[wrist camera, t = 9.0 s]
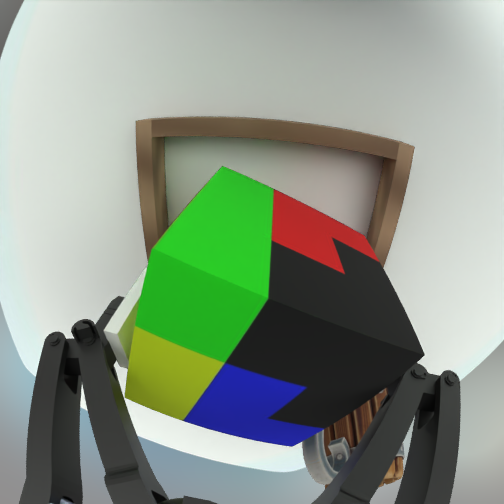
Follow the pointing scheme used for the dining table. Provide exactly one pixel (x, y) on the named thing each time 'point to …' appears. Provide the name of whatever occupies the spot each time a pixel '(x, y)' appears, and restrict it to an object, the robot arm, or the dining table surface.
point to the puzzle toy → (264, 317)
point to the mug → (345, 444)
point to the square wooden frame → (157, 128)
